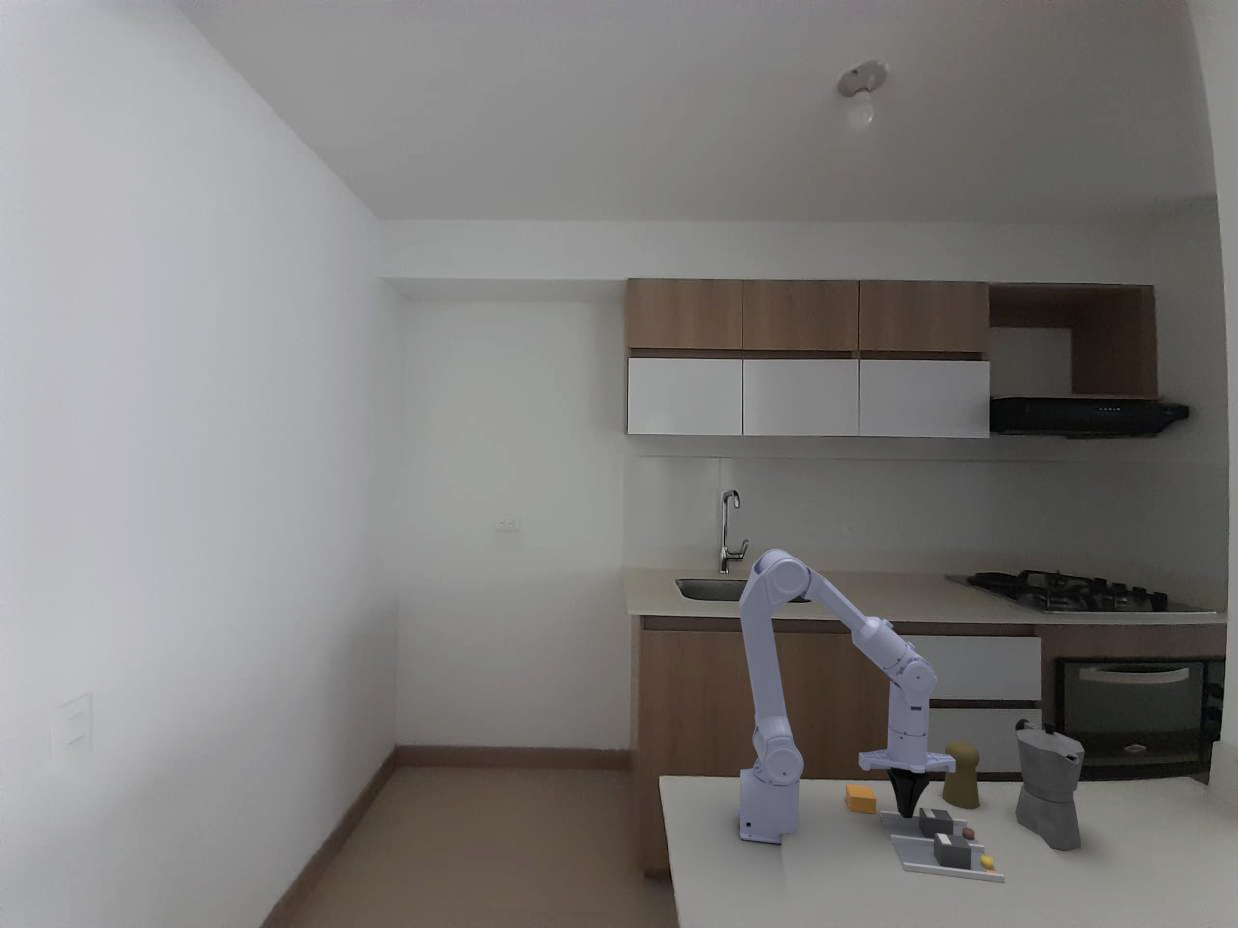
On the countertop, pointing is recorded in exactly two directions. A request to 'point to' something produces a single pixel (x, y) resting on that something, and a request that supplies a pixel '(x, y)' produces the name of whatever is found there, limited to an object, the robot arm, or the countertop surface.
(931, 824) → the toggle
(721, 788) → the countertop surface
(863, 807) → the block
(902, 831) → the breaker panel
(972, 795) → the cork
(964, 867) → the toggle
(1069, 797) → the coffeepot
